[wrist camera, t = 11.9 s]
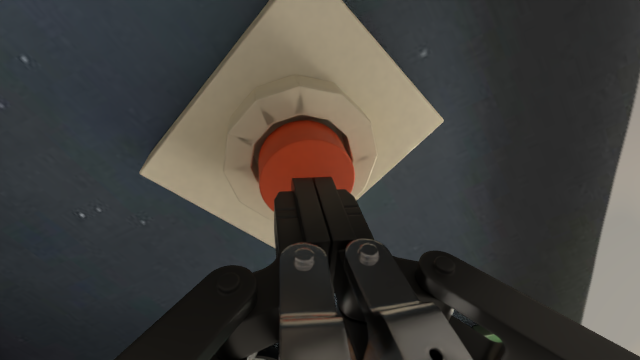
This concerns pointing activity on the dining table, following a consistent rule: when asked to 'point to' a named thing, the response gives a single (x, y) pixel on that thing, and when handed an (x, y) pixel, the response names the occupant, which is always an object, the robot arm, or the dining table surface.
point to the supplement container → (267, 354)
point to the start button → (302, 158)
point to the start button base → (290, 109)
